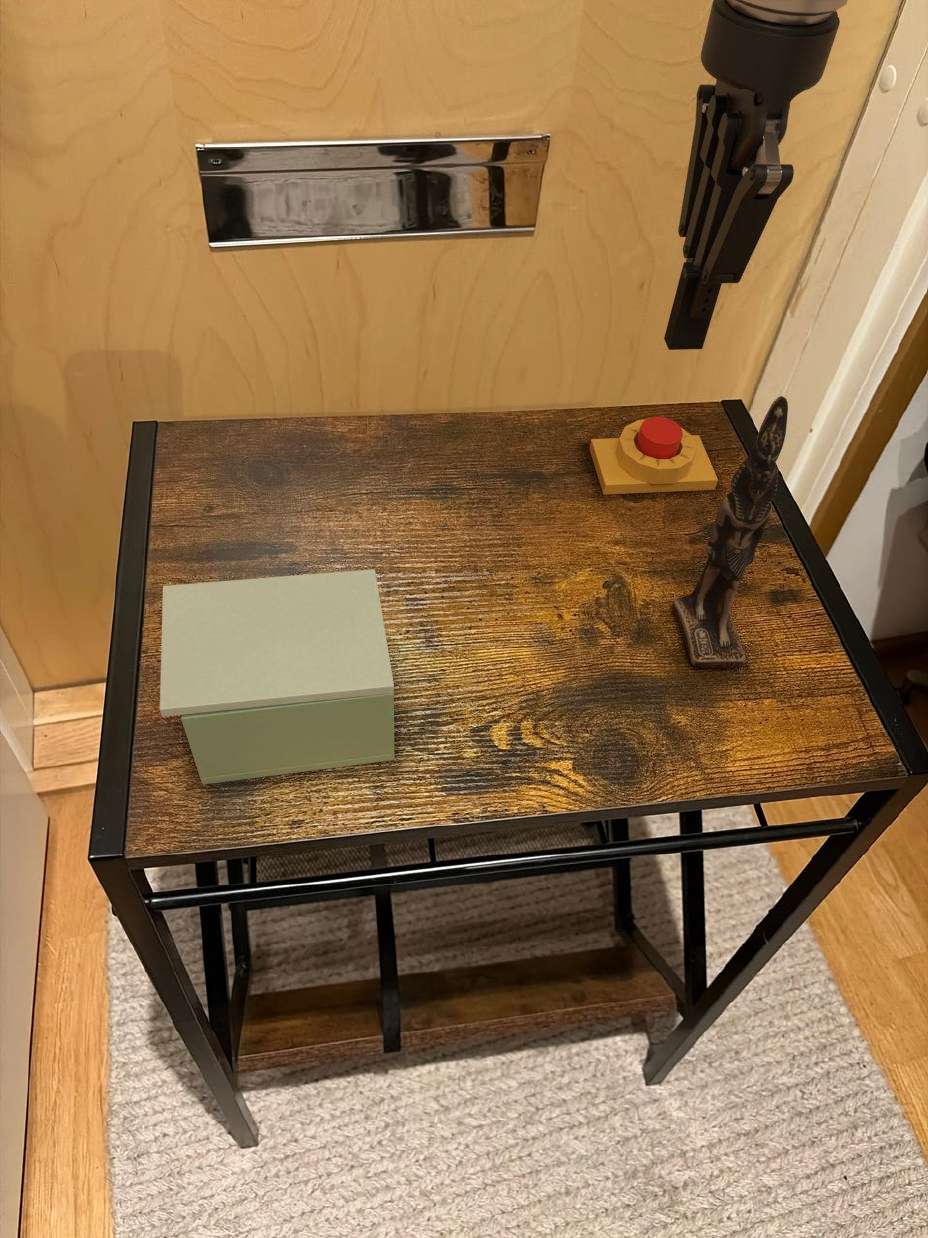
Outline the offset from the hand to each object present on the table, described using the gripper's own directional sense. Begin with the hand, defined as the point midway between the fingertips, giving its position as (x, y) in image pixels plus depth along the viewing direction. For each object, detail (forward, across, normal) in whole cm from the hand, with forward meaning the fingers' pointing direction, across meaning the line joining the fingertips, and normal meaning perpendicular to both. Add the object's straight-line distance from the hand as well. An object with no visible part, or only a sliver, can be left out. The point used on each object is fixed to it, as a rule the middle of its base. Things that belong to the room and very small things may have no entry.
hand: (683, 343), depth 74 cm
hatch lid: (+5, +23, -32) cm, 40 cm away
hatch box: (+13, +24, -31) cm, 41 cm away
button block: (+13, 0, 0) cm, 13 cm away
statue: (+13, +19, 0) cm, 23 cm away
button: (+10, 0, 0) cm, 10 cm away
